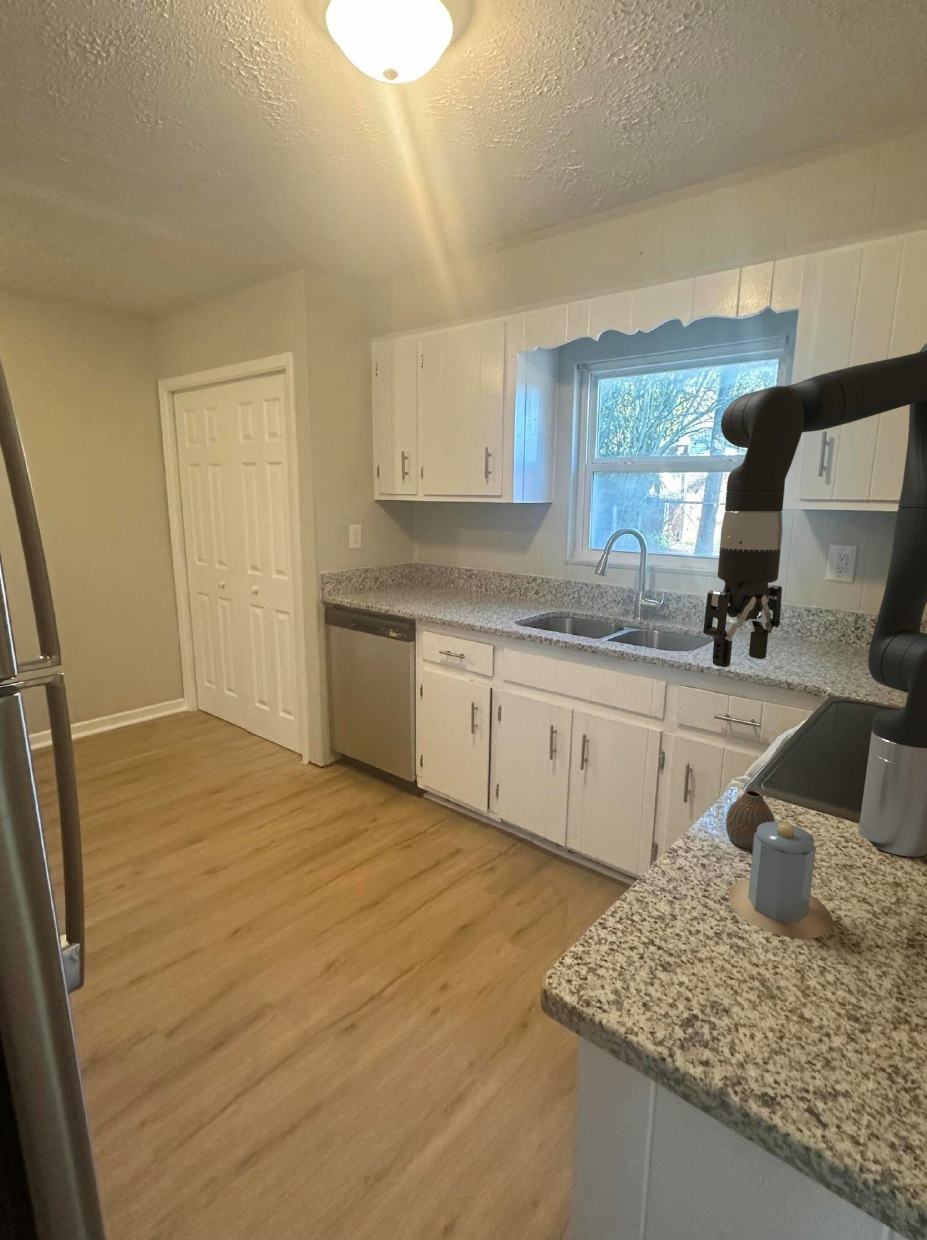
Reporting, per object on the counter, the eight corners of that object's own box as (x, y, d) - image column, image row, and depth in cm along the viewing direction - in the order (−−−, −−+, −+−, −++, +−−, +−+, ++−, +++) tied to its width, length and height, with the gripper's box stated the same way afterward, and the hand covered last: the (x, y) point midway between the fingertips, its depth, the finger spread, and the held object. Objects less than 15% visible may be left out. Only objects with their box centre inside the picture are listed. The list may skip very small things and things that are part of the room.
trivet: (806, 887, 85) (807, 881, 85) (850, 948, 74) (851, 942, 73) (716, 881, 87) (716, 875, 86) (745, 940, 75) (745, 934, 75)
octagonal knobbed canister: (793, 892, 83) (802, 815, 81) (814, 924, 77) (824, 841, 74) (743, 888, 84) (750, 811, 82) (759, 920, 77) (768, 837, 75)
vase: (767, 864, 91) (773, 808, 89) (718, 848, 95) (723, 795, 93) (777, 843, 96) (783, 791, 95) (730, 829, 100) (735, 779, 99)
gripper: (744, 549, 77) (733, 675, 80) (806, 545, 85) (793, 660, 87) (692, 545, 83) (684, 663, 86) (754, 542, 91) (744, 650, 94)
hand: (739, 661), depth 87 cm, fingers open, 8 cm apart
